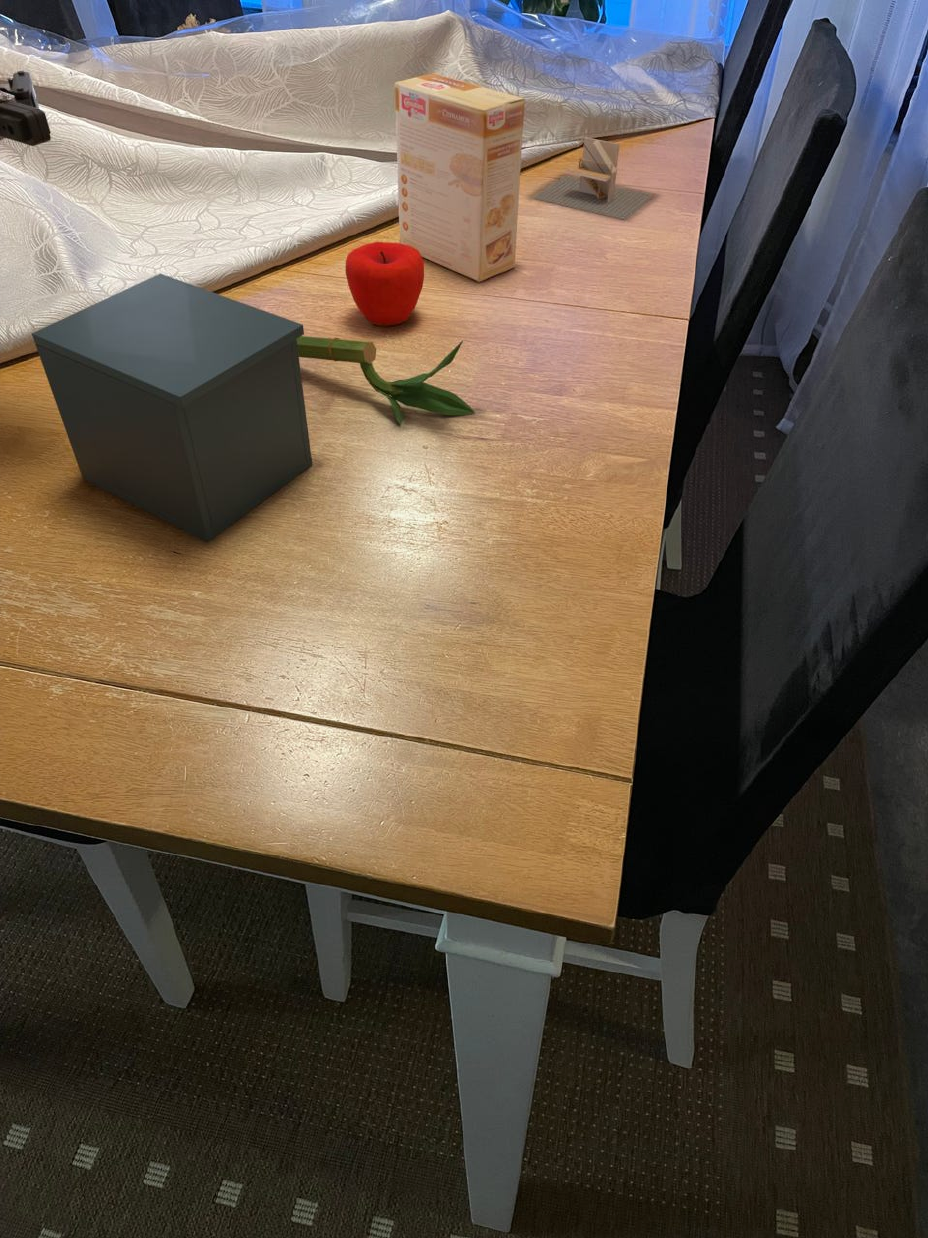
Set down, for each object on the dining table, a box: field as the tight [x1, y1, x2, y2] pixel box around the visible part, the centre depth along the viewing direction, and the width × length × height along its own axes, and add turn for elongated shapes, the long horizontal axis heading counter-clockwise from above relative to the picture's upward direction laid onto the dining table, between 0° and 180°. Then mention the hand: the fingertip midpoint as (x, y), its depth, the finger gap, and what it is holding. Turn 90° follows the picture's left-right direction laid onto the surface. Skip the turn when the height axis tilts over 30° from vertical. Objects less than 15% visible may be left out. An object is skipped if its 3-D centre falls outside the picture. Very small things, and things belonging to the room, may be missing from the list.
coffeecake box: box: [394, 72, 526, 283], centre depth 108 cm, size 15×7×20 cm, turn 46°
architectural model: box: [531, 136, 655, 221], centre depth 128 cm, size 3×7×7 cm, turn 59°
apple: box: [344, 241, 425, 327], centre depth 100 cm, size 9×9×8 cm
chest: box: [34, 339, 313, 543], centre depth 76 cm, size 16×14×13 cm
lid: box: [31, 273, 305, 407], centre depth 71 cm, size 16×14×1 cm
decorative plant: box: [297, 335, 476, 427], centre depth 91 cm, size 6×8×30 cm
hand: (39, 128), depth 65 cm, fingers closed
